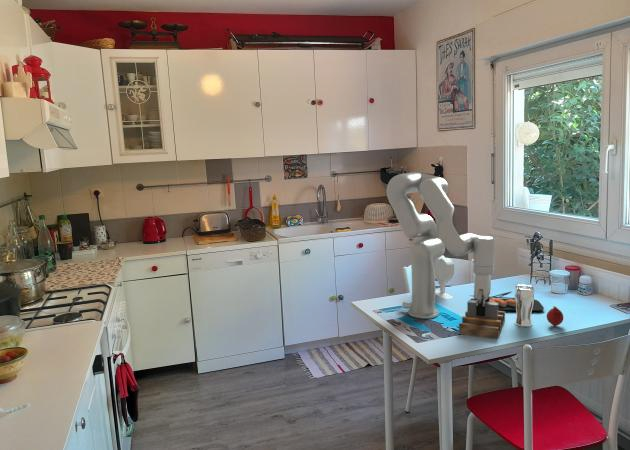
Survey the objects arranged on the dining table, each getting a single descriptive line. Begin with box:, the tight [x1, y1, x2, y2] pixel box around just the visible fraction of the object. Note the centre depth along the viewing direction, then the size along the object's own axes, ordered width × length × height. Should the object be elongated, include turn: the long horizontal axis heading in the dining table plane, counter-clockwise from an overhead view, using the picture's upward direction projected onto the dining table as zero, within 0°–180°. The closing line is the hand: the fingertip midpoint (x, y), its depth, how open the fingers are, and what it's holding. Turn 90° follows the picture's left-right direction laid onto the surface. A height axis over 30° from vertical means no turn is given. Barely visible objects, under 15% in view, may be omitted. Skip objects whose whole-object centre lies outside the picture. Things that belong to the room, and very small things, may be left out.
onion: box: [546, 305, 564, 327], centre depth 199 cm, size 6×6×8 cm
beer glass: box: [514, 284, 535, 328], centre depth 201 cm, size 7×7×15 cm
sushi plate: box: [469, 291, 545, 312], centre depth 231 cm, size 29×30×4 cm
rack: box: [458, 310, 506, 340], centre depth 201 cm, size 14×20×4 cm
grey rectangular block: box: [466, 299, 499, 320], centre depth 200 cm, size 11×3×9 cm, turn 64°
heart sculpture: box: [432, 254, 455, 300], centre depth 242 cm, size 16×5×18 cm, turn 13°
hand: (482, 312), depth 200 cm, fingers open, 9 cm apart
